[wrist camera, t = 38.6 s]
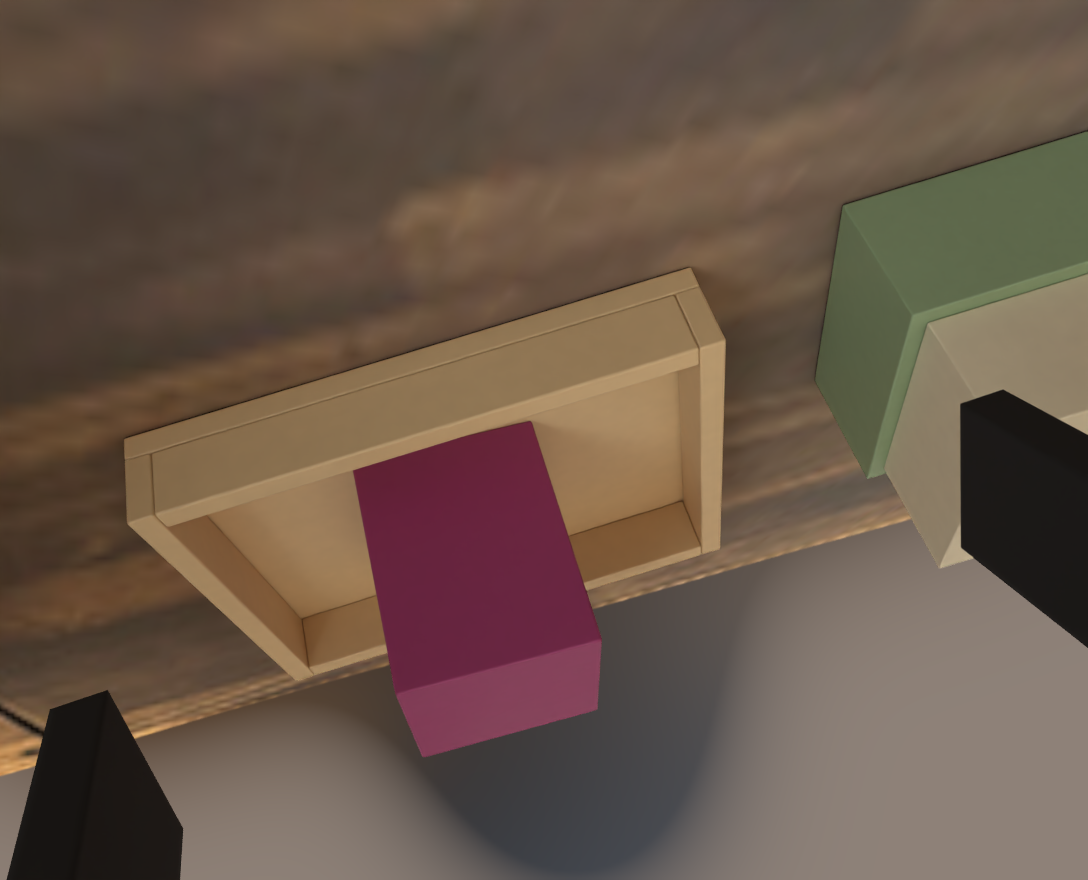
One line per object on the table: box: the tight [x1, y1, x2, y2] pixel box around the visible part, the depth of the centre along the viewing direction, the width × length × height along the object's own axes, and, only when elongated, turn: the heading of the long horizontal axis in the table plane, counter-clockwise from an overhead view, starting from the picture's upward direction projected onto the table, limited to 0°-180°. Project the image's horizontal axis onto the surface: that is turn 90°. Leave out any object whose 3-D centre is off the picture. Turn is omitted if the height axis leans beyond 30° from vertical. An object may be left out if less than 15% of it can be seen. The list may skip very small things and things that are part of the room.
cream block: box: [884, 274, 1088, 568], centre depth 30 cm, size 8×8×4 cm
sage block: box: [815, 131, 1088, 479], centre depth 32 cm, size 9×9×4 cm
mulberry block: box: [353, 421, 602, 757], centre depth 32 cm, size 6×6×8 cm
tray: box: [124, 268, 726, 681], centre depth 34 cm, size 18×14×3 cm
